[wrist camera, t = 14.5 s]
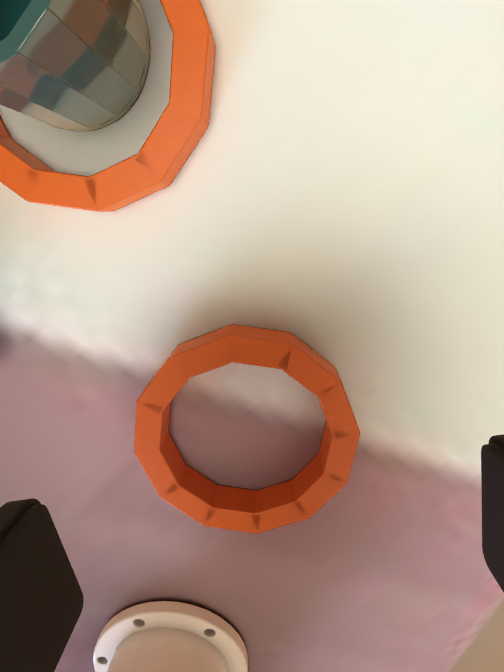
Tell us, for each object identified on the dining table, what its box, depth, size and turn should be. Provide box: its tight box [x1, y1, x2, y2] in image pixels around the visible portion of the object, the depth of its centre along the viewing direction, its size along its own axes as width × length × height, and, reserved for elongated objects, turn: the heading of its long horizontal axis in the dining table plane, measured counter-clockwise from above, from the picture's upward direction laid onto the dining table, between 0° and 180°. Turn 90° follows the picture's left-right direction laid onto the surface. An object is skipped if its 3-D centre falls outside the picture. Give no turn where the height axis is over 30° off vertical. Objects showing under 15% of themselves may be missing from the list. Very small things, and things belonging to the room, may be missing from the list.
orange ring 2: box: [134, 324, 360, 533], centre depth 25 cm, size 13×13×2 cm
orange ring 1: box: [0, 0, 215, 211], centre depth 19 cm, size 13×13×2 cm
